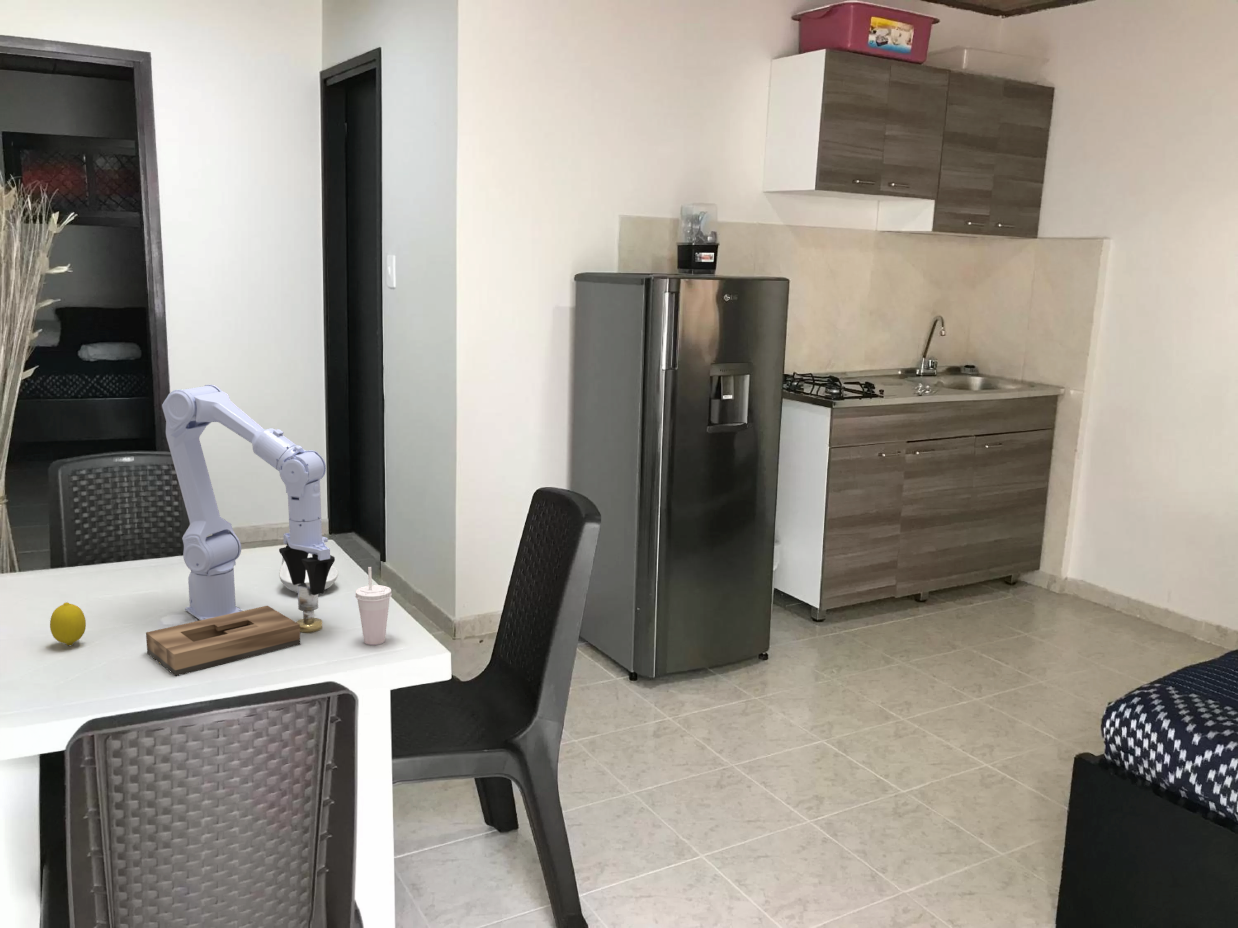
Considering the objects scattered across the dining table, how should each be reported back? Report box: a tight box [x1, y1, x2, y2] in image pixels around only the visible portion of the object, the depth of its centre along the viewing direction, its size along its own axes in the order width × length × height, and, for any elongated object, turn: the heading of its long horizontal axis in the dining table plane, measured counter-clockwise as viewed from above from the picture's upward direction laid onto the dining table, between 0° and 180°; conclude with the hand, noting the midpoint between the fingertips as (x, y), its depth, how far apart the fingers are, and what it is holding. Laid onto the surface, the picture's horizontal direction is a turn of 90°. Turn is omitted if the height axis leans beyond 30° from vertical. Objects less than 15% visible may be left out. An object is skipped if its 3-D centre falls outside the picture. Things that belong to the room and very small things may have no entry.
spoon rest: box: [278, 553, 339, 594], centre depth 218 cm, size 24×12×7 cm, turn 29°
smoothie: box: [354, 566, 392, 646], centre depth 184 cm, size 6×6×14 cm
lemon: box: [49, 601, 87, 646], centre depth 179 cm, size 6×6×8 cm
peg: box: [295, 583, 323, 634], centre depth 190 cm, size 5×5×8 cm
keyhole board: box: [145, 605, 301, 676], centre depth 180 cm, size 13×22×4 cm, turn 133°
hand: (308, 588), depth 190 cm, fingers open, 7 cm apart
